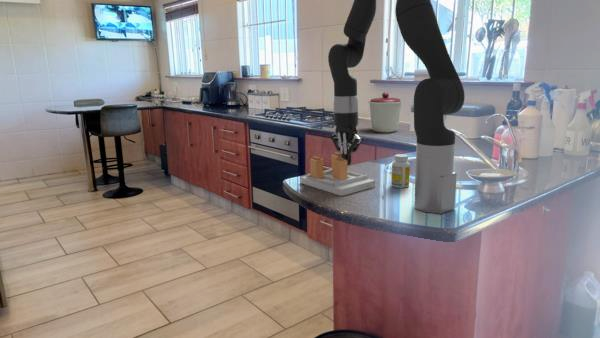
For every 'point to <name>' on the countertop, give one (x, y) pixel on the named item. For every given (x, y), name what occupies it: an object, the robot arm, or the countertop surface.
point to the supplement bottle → (400, 171)
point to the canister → (385, 113)
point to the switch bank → (340, 183)
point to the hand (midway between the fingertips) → (346, 164)
